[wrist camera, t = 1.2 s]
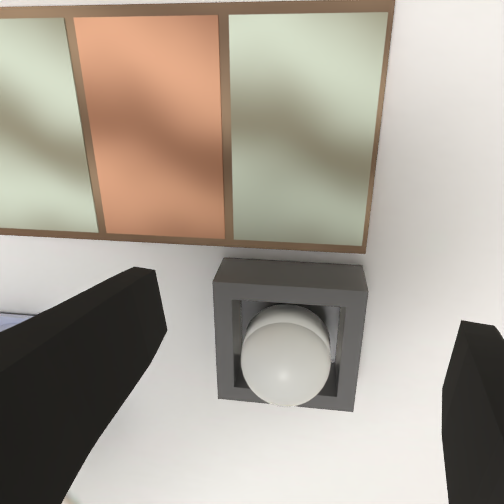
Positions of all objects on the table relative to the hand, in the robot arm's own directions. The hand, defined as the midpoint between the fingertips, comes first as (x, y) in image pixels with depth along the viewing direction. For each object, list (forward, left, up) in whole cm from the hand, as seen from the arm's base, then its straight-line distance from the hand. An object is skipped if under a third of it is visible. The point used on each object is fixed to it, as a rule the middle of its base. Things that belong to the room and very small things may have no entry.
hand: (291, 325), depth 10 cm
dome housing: (-9, +1, -14) cm, 16 cm away
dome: (-9, 0, -12) cm, 15 cm away
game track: (+2, +12, -14) cm, 18 cm away
